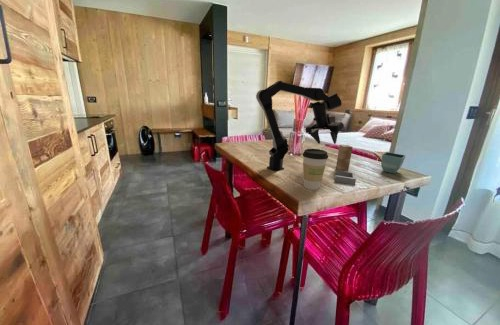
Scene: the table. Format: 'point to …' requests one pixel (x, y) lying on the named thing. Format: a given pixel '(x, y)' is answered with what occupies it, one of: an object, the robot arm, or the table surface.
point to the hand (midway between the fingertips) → (327, 143)
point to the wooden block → (344, 157)
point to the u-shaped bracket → (345, 177)
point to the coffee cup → (313, 167)
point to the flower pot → (392, 162)
